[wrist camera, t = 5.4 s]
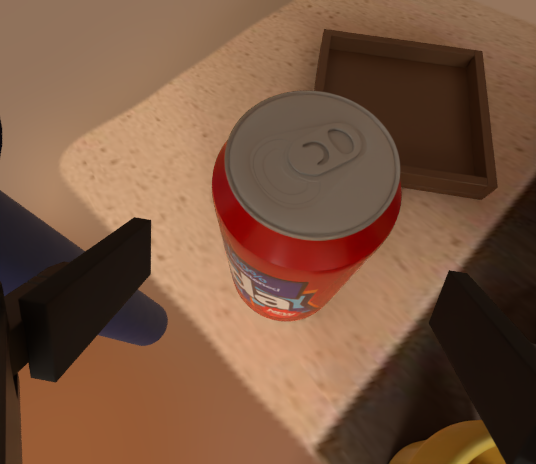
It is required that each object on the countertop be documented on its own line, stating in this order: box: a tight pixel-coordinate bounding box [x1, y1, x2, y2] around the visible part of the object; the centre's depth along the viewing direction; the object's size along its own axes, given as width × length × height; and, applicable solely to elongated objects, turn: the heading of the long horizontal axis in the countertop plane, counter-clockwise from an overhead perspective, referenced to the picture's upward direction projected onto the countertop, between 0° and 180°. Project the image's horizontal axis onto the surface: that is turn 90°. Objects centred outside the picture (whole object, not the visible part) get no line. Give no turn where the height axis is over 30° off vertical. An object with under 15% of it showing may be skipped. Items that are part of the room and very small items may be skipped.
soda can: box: [212, 91, 402, 321], centre depth 19 cm, size 8×8×15 cm
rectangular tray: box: [314, 29, 497, 200], centre depth 32 cm, size 16×16×2 cm
